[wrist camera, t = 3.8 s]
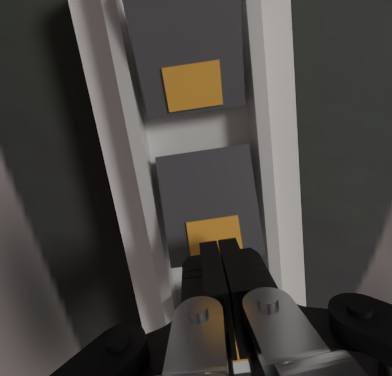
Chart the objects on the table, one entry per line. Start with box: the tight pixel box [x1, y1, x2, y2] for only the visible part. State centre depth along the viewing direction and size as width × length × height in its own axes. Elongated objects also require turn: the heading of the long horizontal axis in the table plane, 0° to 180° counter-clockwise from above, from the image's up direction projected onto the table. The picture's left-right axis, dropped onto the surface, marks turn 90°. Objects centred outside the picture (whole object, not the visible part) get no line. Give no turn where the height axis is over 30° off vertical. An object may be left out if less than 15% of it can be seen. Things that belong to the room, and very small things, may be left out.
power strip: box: [68, 0, 306, 374], centre depth 15 cm, size 24×10×5 cm, turn 8°
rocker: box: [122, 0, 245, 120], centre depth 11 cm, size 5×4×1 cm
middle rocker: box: [155, 144, 265, 268], centre depth 13 cm, size 5×4×1 cm
